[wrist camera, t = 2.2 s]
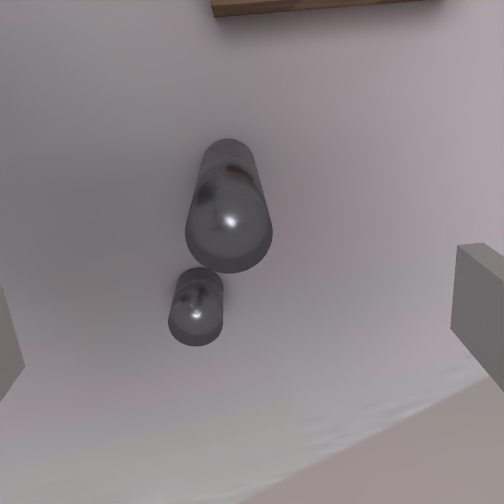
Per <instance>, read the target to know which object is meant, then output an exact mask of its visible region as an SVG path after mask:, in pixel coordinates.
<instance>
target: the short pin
mask: <svg viewBox="0 0 504 504" xmlns="http://www.w3.org/2000/svg"><path fill="white" fill-rule="evenodd" d="M168 325H169V329H170V332H171V333H172V335H173V336H174V337H175V338H176V339H177V340H178V341H179V342H181V343H183V344H185V345H189V346H203V345H206V344H209V343H211V342H212V341H214V340H215V339H216V338H217V337H218V336H219V334H220V332H221V330H222V326H223V283H222V281H221V279H220V277H219V276H218V275H217V274H216V273H215V272H213V271H212V270H210V269H207V268H201V267H198V268H192V269H189V270H187V271H186V272H184V273H183V274H182V275H181V276H180V277H179V279H178V281H177V285H176V289H175V293H174V297H173V302H172V306H171V310H170V314H169V319H168Z"/></svg>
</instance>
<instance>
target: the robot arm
mask: <svg viewBox="0 0 504 504" xmlns="http://www.w3.org/2000/svg"><path fill="white" fill-rule="evenodd" d="M450 329H451V330H452V331H453V332H454V333H455V335H456V336H457V337H458V338H459V339H460V341H461V342H462V343H463V344H464V345H465V346H466V348H467V349H468V350H469V351H470V352H471V354H472V355H473V356H474V357H475V358H476V360H477V361H478V362H479V363H480V364H481V365H482V367H483V368H484V369H485V370H486V371H487V373H488V374H489V375H490V376H491V377H492V378H493V380H494V381H495V382H496V383H497V384H498V386H499V387H500V388H501V389H502V390H503V392H504V257H503V256H502V255H501V254H499V253H498V252H496V251H495V250H493V249H492V248H490V247H489V246H487V245H486V244H485V243H476V244H464V245H457V254H456V266H455V279H454V291H453V303H452V316H451V328H450ZM24 367H25V364H24V360H23V357H22V353H21V350H20V347H19V343H18V340H17V336H16V333H15V329H14V326H13V323H12V319H11V316H10V312H9V309H8V305H7V302H6V299H5V295H4V292H3V288H2V285H0V402H1V400H2V399H3V397H4V396H5V394H6V393H7V392H8V390H9V389H10V387H11V386H12V384H13V383H14V382H15V380H16V379H17V377H18V376H19V374H20V373H21V371H22V370H23V369H24Z"/></svg>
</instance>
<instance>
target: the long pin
mask: <svg viewBox="0 0 504 504" xmlns="http://www.w3.org/2000/svg"><path fill="white" fill-rule="evenodd" d="M185 236H186V242H187V245H188V248H189V250H190V252H191V253H192V255H193V256H194V258H195V259H196V260H197V261H198V262H199V263H201V264H202V265H203V266H205V267H206V268H208V269H210V270H213V271H216V272H220V273H238V272H242V271H245V270H247V269H250V268H251V267H253V266H255V265H256V264H257V263H259V262H260V261H261V260H262V259H263V257H264V256H265V255H266V253H267V251H268V249H269V247H270V245H271V241H272V224H271V220H270V216H269V212H268V209H267V205H266V201H265V198H264V194H263V190H262V187H261V183H260V179H259V176H258V172H257V168H256V165H255V161H254V157H253V155H252V152H251V151H250V149H249V148H248V147H247V146H246V145H245V144H243V143H242V142H240V141H238V140H235V139H222V140H219V141H217V142H215V143H213V144H212V145H211V146H210V147H209V148H208V149H207V151H206V153H205V155H204V158H203V162H202V165H201V169H200V173H199V177H198V181H197V184H196V188H195V192H194V196H193V200H192V203H191V207H190V211H189V215H188V219H187V223H186V228H185Z"/></svg>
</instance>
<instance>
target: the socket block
mask: <svg viewBox="0 0 504 504" xmlns="http://www.w3.org/2000/svg"><path fill="white" fill-rule="evenodd" d="M407 1H419V0H211V6H212V10H213V13H214V17H222V16H235V15H247V14H259V13H272V12H284V11H296V10H309V9H321V8H333V7H346V6H358V5H370V4H383V3H395V2H407Z"/></svg>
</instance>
